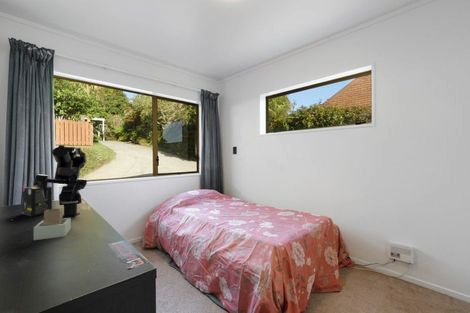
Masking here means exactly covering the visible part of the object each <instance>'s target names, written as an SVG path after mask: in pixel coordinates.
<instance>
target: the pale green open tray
mask: <svg viewBox="0 0 470 313" xmlns="http://www.w3.org/2000/svg"><path fill="white" fill-rule="evenodd" d="M71 222H72V221H71V217H64V218H62V224H57V225H48V226H44V220H41V221H40V222H38V223H37V224H36V225H35V226H34V227H33V241H38V240H44V239H45V240H48V239H55V238H64V237H66V236H67V235H68V233H69V232H70V230H71V226H72V225H71Z"/></svg>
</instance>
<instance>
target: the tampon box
mask: <svg viewBox="0 0 470 313" xmlns="http://www.w3.org/2000/svg"><path fill="white" fill-rule="evenodd" d="M52 195H53V187H52V186H48V185H47V195H46V199H44V196H43V193H42V191H41V189H40V187H37V185H32V186H25V187H24V186H23V187H22V206H21V209H22V210H21V214H22V215H25V216H28V217H35V216H40V215H42V216H43V215H44V212H45V211H46V210H49V209H53V208H52V207H53V200H52V199H53V196H52Z"/></svg>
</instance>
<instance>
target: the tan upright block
mask: <svg viewBox="0 0 470 313" xmlns="http://www.w3.org/2000/svg"><path fill="white" fill-rule="evenodd" d="M62 215H63V208H52V209H49V210H46V211H45V212H44V214H43V221H44V226H48V225H57V224H62V219H63V217H62Z"/></svg>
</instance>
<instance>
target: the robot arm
mask: <svg viewBox="0 0 470 313" xmlns="http://www.w3.org/2000/svg"><path fill="white" fill-rule="evenodd" d="M51 154H52V156H53V158H54V161H55V163H56V167H55V168H56V169H55V173H54V178H50V177H49V178H48V176H49V175H48V174H40V173H38V174H36V175H35V177H34V180H33V185H32V186H37V187H40V189H41V191H42V193H43V196H44V199H46V195H47V186H48V184H58V185H59V184H60V185H63V186H62V187H61V191H60V193H59V195H58V203H59V206H63V214H62V218H71V217H72V218H74V217H77V216H78V215H80V214H81V212H78V205H80V204H83V203H82V202H83V201H82V200H83V199H82V195H81V193H80V191H82V190H83V189H85V188H86V186H87V182H88V180H87V179H86V178H79V177H80V173H81V169H83V168H84V167H85V164H87V156H86V153H84V151H82V148H81V147H79V146H78V147H77V146H76V147H75V146H65V145H64V144H59V145H58V147H57V146H56V147H55V148H53V149H52V150H51Z"/></svg>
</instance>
